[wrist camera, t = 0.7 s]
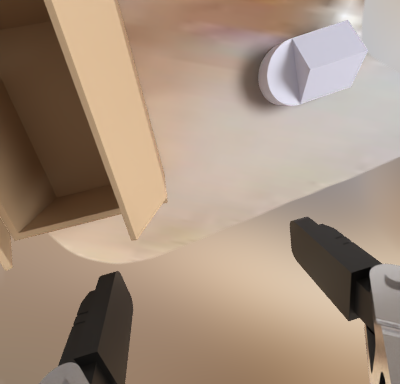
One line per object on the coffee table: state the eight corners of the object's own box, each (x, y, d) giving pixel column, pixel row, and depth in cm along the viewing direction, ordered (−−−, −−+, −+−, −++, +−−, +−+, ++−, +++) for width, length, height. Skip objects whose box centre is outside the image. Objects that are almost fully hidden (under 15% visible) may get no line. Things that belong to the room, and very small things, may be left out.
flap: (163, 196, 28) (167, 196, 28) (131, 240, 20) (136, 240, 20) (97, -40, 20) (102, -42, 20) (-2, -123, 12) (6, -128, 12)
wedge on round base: (331, 27, 36) (252, 52, 36) (367, 11, 30) (273, 41, 29) (335, 88, 40) (264, 112, 39) (368, 85, 34) (284, 114, 33)
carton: (-27, 29, 29) (-139, -17, 18) (118, 3, 31) (97, -53, 20) (55, 201, 38) (13, 241, 27) (164, 175, 40) (167, 202, 29)
